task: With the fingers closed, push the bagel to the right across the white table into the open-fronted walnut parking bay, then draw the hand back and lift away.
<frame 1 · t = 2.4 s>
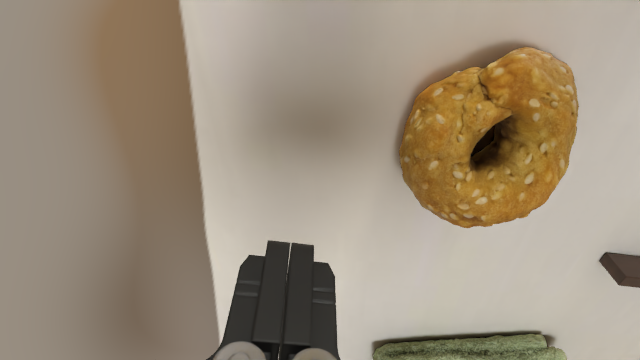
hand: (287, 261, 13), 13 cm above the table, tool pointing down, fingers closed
bagel: (477, 125, 24), on the table
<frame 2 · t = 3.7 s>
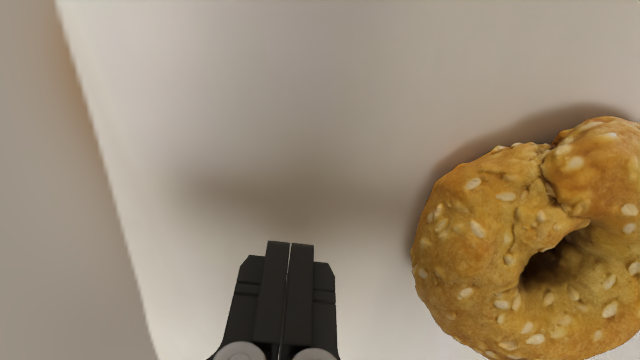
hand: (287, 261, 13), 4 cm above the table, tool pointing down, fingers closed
bagel: (521, 212, 17), on the table
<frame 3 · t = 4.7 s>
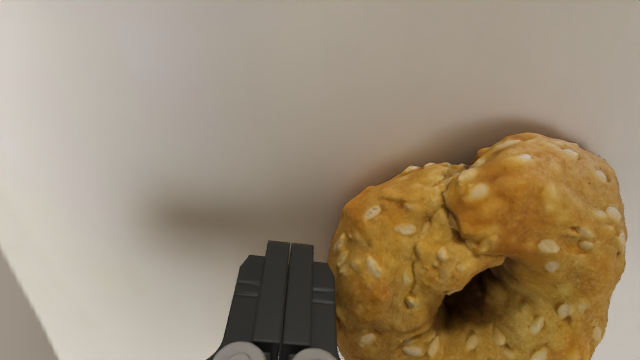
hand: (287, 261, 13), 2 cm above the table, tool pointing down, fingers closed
bagel: (452, 237, 15), on the table, touching gripper
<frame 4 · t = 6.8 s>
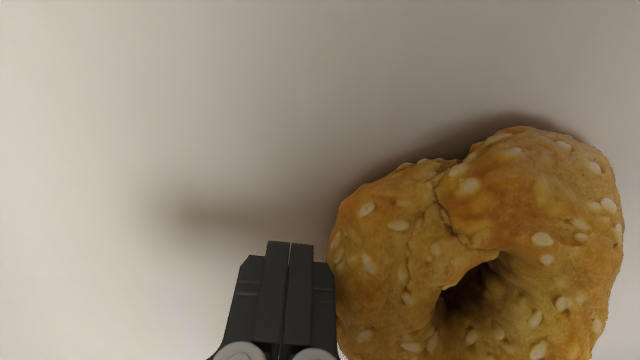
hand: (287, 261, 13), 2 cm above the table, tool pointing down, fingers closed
bagel: (450, 233, 15), on the table, touching gripper
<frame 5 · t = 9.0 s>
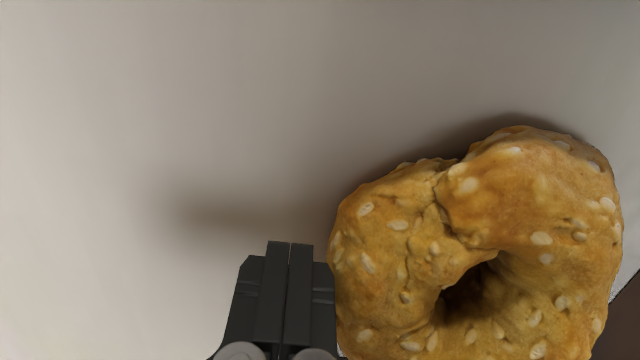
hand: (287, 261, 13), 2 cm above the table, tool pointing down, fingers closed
bagel: (450, 232, 15), on the table, touching gripper
bay: (482, 237, 15), on the table
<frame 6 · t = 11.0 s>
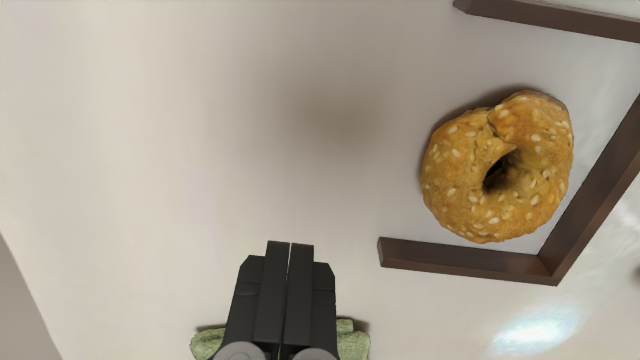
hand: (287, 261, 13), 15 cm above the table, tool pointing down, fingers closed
bagel: (486, 153, 28), on the table
bay: (503, 155, 28), on the table
washcloth: (285, 353, 42), on the table
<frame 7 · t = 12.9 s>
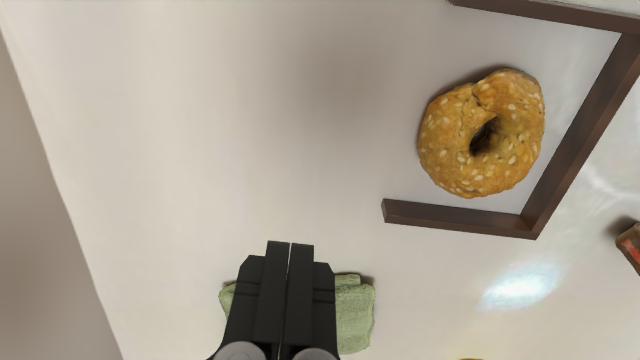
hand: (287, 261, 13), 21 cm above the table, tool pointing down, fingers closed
bagel: (474, 123, 33), on the table
bay: (487, 125, 33), on the table
washcloth: (300, 307, 47), on the table
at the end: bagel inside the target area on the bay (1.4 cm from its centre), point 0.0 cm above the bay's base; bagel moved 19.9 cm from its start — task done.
